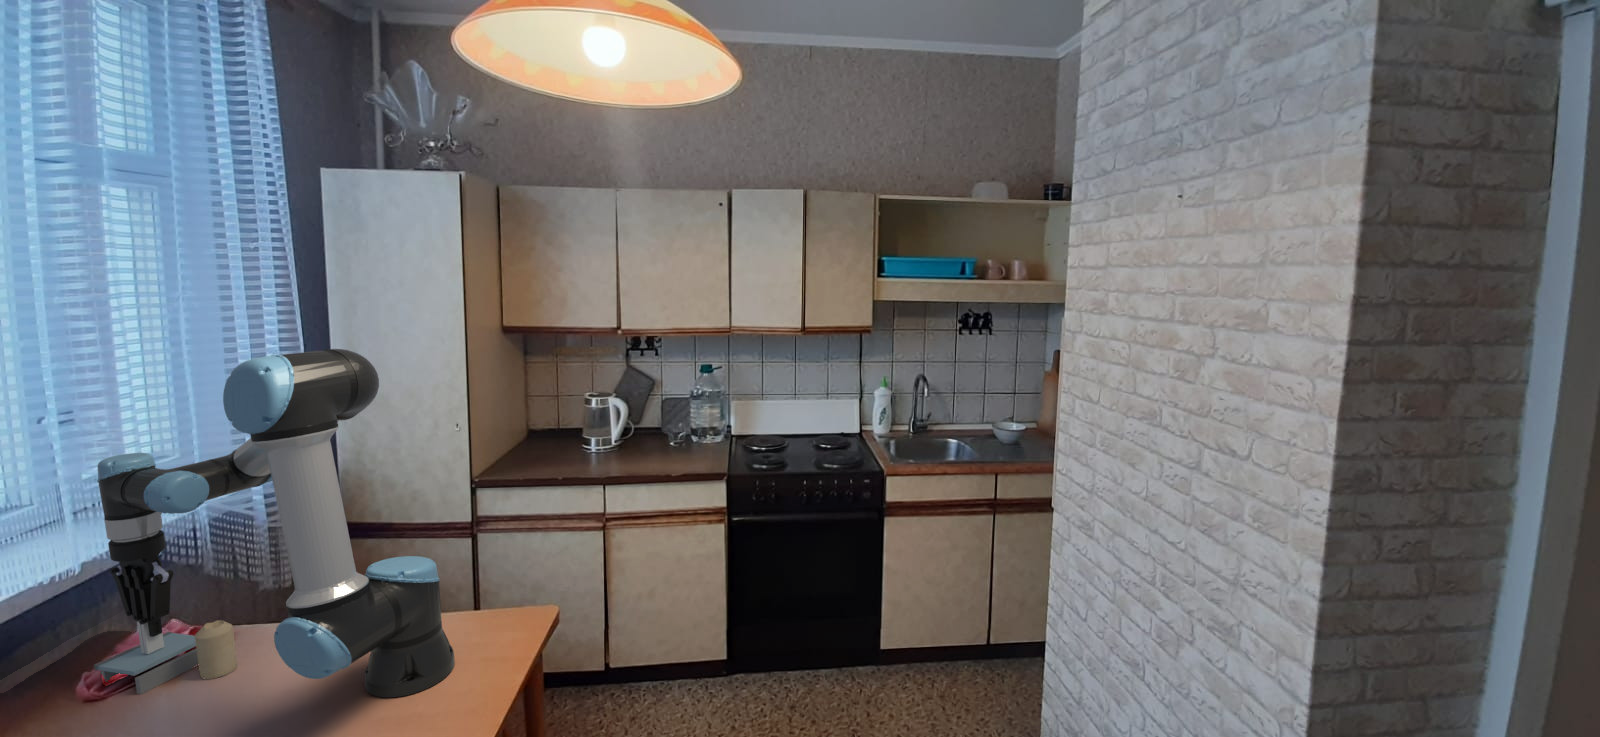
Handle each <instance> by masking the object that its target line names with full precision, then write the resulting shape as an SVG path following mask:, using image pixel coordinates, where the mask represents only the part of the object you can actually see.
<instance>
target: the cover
mask: <svg viewBox="0 0 1600 737" xmlns="http://www.w3.org/2000/svg"><path fill="white" fill-rule="evenodd" d="M163 640H164V647H163V648H161V649H158V650H156V651H154V652H152V653H150V654H144V653H141V646H140V643H139V644H137V645H135V646H133V647H130V648H129V649H126V650H123V651H122V652H120V653H117V654H115V655H112V656H110V657H109V658H106V659H104V660H102V661H98V663H95V664H93V670H94V671H99V672H100V670H101V671H108V672H114V673H120V674H127V675H130V676H133V677H134V676H137V675H139V674H141V673H143V672H145V671H147V670H149V669H152V668H153V667H154V668H155V666H158V665H159V664H162V663H165V662H166V661H169V660H171V659H172V658H174V657H176V656H178V655H179V656H180V654H181V655H182V653H184V652H186V651H189V650H191V649H193V648H196V641H195V635H194V634H193V635H192V634H184V633H177V632H173V631H167V632H164V633H163Z"/></svg>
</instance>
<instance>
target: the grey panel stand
mask: <svg viewBox="0 0 1600 737" xmlns="http://www.w3.org/2000/svg"><path fill="white" fill-rule="evenodd" d="M196 665H198V656H197V649H196V648H194V649H192V650H190V651H188V652H186V653H184V654H181V655H179V656H178V657H176V658H173V659H170V660H168V661H167V662H164V663H163V664H161V665H159V666H157V667H154V668H153V669H150V670H149V671H146V672H144V673H143V674H141V675H138V676H136V677H134V681H135V689H136V694H138V695H143V694H145V693H146V692H148V691H150V690H153V689H154V688H156V687H158V686H160V685H162V684H165V683H167V681H170V680H171V679H174V678H176V677H178V676H180V675H182V674H184V673H186V672H188V671H190V670H192V669H193V668H192V667H194V666H196ZM198 666H199V665H198ZM196 667H197V666H196ZM191 668H192V669H191ZM194 668H195V667H194ZM189 669H190V670H189ZM187 670H188V671H187ZM185 671H186V672H185ZM183 672H184V673H183ZM99 673H100V675H101V674H102V675H103V677H104V679H105V681H106V682H108V681H107V680H110V678H111V677H112V676H114V675H116V674H119V673H114V672H108V671H101V670H99ZM181 673H182V674H181ZM179 674H180V675H179ZM177 675H178V676H177Z"/></svg>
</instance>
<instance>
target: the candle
mask: <svg viewBox="0 0 1600 737" xmlns="http://www.w3.org/2000/svg"><path fill="white" fill-rule="evenodd" d="M194 636H195V641H196V646H195V649H197V656H198V664H199V665H198V669H199V670H198V671H199V676H201V677H200V678H201V679H202V678H205V679H204V680H213V679H212V678H215V679H218V678H217V677H219V678H222V677H224V676H227V675H229V674H230V673H232V672H234V671H235V670H236V669H237V667H238V658H237V651H236V650H237V649H236V644H235V635H234V627H233V624H231V623H229V622H227V621H225V620H223V619H222V620H221V619H220V620H218V619H217V620H215V621H212V622H206V623H205V624H204V625H203V626H202V627H201V628H200V629H199V630H198V631H197V632H196V633H195V635H194ZM221 676H222V677H221Z"/></svg>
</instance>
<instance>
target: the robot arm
mask: <svg viewBox="0 0 1600 737" xmlns="http://www.w3.org/2000/svg"><path fill="white" fill-rule="evenodd" d="M379 387H380V378H379V374H378V371H377V369H376V368H375V366H374V365H373V363H371V362H370V360H368V359H367V358H366V357H365V356H363V355H361V354H360V353H358V352H355V351H352V350H349V349H345V348H344V349H343V348H328V349H322V350H313V351H305V352H295V353H294V352H293V353H285V354H272V355H268V356H263V357H257V358H253V359H249V360H245V361H243V362H241V363H240V364H238V365H237V366H236V367H234V369H233V370H232V371H231V373H230V375H229V376H228V378H227V379H226V381H225V385H224V388H223V394H222V395H223V396H222V397H223V398H222V402H223V408H224V412H225V416H226V418H227V420H228V421H229V422H232V424H231V426H232V427H233V428H234V429H236V430H237V431H239V432H241V433H243V434H248V435H250V438H249V439H248V440H246V441H245V442H244V443H243V444H241V445H240V446H239V447H238V448H237V449H235V450H234V451H232V452H230V454H226V455H224V456H219V457H215V458H209V459H208V460H203V461H199V462H195V463H190V464H186V465H182V466H176V467H172V468H169V469H164V468H158V467H157V468H156V466H157V464H156V463H155V459H154V456H153V455H152V454H150V453H149V452H148V453H147V452H132V453H124V454H119V455H118V454H117V455H113V456H109V457H106V458H104V459H101V460H100V461H99V462H98V464H97V466H96V467H97V477H98V479H96V480H97V483H98V486H99V487H98V488H99V493H100V500H101V505H102V511H103V516H104V518H103V520H104V525H105V532H106V533H105V534H106V538H107V540H110V541H109V542H108V543H107V544H108V545H107V546H108V551H109V558H110V559H111V561H113V562H118V564H119V565H118V566H115V567H112V568H110V570H109V571H110V574H111V576H112V577H113V578H114V580H115V583H116V586H117V590H118V593H119V596H120V599H121V602H122V606H123V609H124V612H125V614H126V616H127V617H130V616H132V619H133V620H134V621H135V622H136V623H137V624H136V625H137V631H138V638H139V644H140V646H141V653H144V654H150V653H152V652H154V651H156V650H158V649H161V648H163V647H164V640H163V634H164V633H163V625H162V618H163V617H166V616H168V615H170V611H171V609H170V608H171V606H170V605H171V588H172V587H171V582H172V579H173V577H174V570H172V569H168V570H165V569H164V568H162V566H163V563H162V560H161V558H160V554H161V553H162V552H163V551H164V550H165V549H166V548H167V545H166V544H167V543H166V537H165V532H164V531H163V530H162V529H163V527H164V526H163V518H162V515H163V514H169V515H170V514H172V515H173V514H179V515H180V514H186V513H190V512H193V511H195V510H197V509H198V508H199V507H200V506H201V505H203V504H204V503H205V502H207V501H209V500H213V499H217V498H220V497H223V496H226V495H230V494H233V493H234V494H235V493H237V492H241V491H244V490H247V489H251V488H258V487H260V486H263V485H265V484H267V483H270V482H272V484H273V490H274V494H275V500H276V506H277V508H278V514H279V519H280V524H281V528H282V533H283V538H284V541H285V542H284V543H285V547H286V552H287V557H288V558H287V559H288V562H289V566H290V571H291V576H292V581H293V586H294V590H293V593H292V594H290V596H289V597H288V598H287V600H286V602H285V604H286V610H287V615H288V617H287V618H285V619H283V620H282V621H281V622H280V623H279V624H278V625H277V627H276V628H275V631H274V634H273V638H274V639H273V641H274V646H275V649H276V651H277V653H278V655H279V657H280V659H281V660H282V661H283V662H284V664H285V665H286V666H288V668H290V669H291V670H292V671H294V672H295V673H296V674H297V675H300V676H302V677H303V678H307V679H312V680H321V679H324V678H328V677H329V676H331V675H333V674H334V673H338V672H339V671H340V670H344V669H346V668H348V667H349V666H351V664H353V663H355V662H356V661H358V660H359V659H361V658H362V657H364V656H366V655H368V654H370V655H369V658H368V663H367V667H366V668H365V671H364V676H363V677H364V688H365V690H366V692H367V693H369V694H370V695H371V696H375V697H379V698H399V697H404V696H409V695H412V694H413V695H414V694H416V693H419V692H422V691H424V690H427V689H430V688H431V687H433V686H435V685H437V684H438V683H440V682H442V681H443V680H444V679H446V678H447V677H448V676H449V675H450V674H451V672H452V671H453V669H454V667H455V663H456V660H455V651H454V648H453V647H452V646H451V644H450V640H449V639H448V637H447V634H446V633H445V631H444V629H443V624H442V622H443V621H442V608H441V594H440V593H441V592H440V590H441V589H440V588H441V587H440V579H441V578H440V576H439V574H438V568H437V567H438V566H437V563H436V562H435V561H434V560H433V559H432V558H429V557H424V556H420V555H419V556H416V555H408V556H407V555H406V556H405V555H404V556H396V557H395V556H394V557H391V558H390V557H389V558H385V559H382V560H379V561H376V562H373V563H372V564H370V565H368V567H367V568H366V570H365V574H361V573H359V572H358V571H357V570H356V564H355V560H354V555H353V554H354V553H353V549H352V543H351V539H350V534H349V527H348V522H347V519H346V513H345V509H344V504H343V498H342V493H341V489H340V487H341V486H340V483H339V478H338V473H337V472H338V471H337V467H336V463H335V458H334V453H333V449H332V448H333V447H332V442H331V438H332V437H333V435H334V434H335V433H336V432H337V430H338V429H339V422H340V421H341V422H342V421H343V422H344V421H348V420H351V419H352V418H354V417H356V416H357V415H358V414H360V413H361V412H363V411H364V410H365V409H366V408H367V407H368V406H370V405H371V403H372V402H373V401H374V400H375V398H376V396H377V394H378V391H379Z"/></svg>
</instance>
